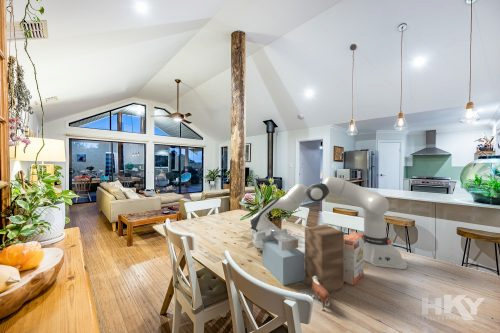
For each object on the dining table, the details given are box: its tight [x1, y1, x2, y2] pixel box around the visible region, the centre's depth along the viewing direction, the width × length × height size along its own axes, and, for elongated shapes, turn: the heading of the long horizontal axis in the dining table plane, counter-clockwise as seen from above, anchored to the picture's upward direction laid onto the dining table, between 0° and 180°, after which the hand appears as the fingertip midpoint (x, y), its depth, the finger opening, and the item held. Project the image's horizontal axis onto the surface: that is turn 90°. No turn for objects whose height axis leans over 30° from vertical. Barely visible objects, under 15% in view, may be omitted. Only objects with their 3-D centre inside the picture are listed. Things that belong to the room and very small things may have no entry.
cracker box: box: [343, 231, 365, 286], centre depth 106 cm, size 14×6×21 cm, turn 136°
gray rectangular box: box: [262, 239, 305, 286], centre depth 113 cm, size 22×12×13 cm, turn 22°
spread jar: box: [250, 226, 259, 238], centre depth 166 cm, size 12×11×12 cm
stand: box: [304, 224, 345, 294], centre depth 100 cm, size 12×12×26 cm
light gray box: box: [270, 226, 299, 251], centre depth 112 cm, size 22×9×4 cm, turn 22°
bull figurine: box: [310, 276, 331, 311], centre depth 89 cm, size 4×13×8 cm, turn 7°
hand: (275, 231), depth 120 cm, fingers closed on light gray box, 4 cm apart
